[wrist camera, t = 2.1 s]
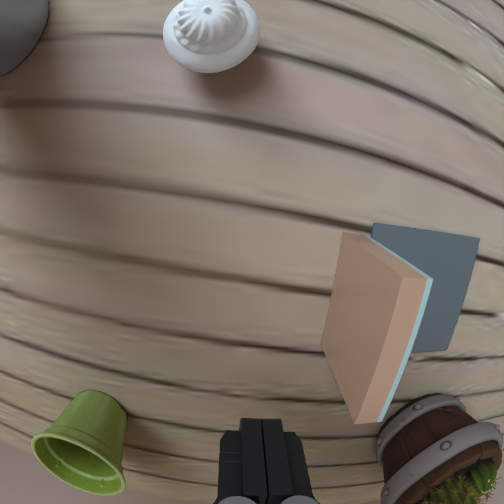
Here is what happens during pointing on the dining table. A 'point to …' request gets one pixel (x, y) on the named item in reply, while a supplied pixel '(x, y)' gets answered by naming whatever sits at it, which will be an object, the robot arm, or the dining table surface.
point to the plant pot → (86, 444)
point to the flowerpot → (437, 453)
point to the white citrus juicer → (211, 34)
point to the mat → (434, 276)
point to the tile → (372, 323)
